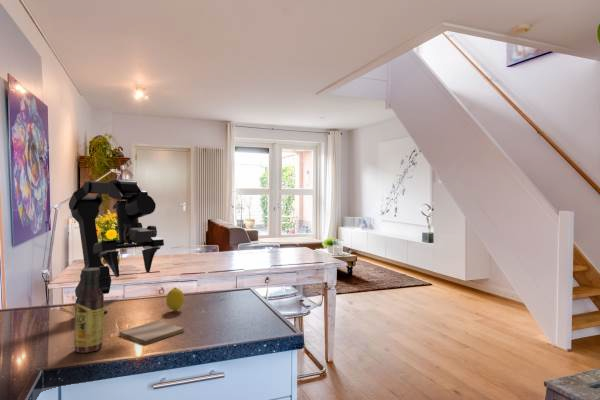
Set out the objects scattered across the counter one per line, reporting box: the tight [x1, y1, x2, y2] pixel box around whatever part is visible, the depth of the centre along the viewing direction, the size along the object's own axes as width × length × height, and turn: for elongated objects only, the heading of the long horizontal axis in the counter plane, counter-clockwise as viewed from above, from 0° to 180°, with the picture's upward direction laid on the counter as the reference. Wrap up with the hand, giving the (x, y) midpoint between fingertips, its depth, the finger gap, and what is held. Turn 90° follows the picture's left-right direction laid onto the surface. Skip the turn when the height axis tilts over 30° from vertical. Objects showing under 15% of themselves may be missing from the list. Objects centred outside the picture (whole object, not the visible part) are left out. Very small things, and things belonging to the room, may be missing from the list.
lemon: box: [166, 287, 185, 312], centre depth 125 cm, size 6×6×8 cm
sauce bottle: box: [73, 268, 105, 354], centre depth 92 cm, size 7×6×20 cm
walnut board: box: [118, 320, 185, 346], centre depth 103 cm, size 12×12×1 cm
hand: (133, 274), depth 108 cm, fingers open, 9 cm apart
